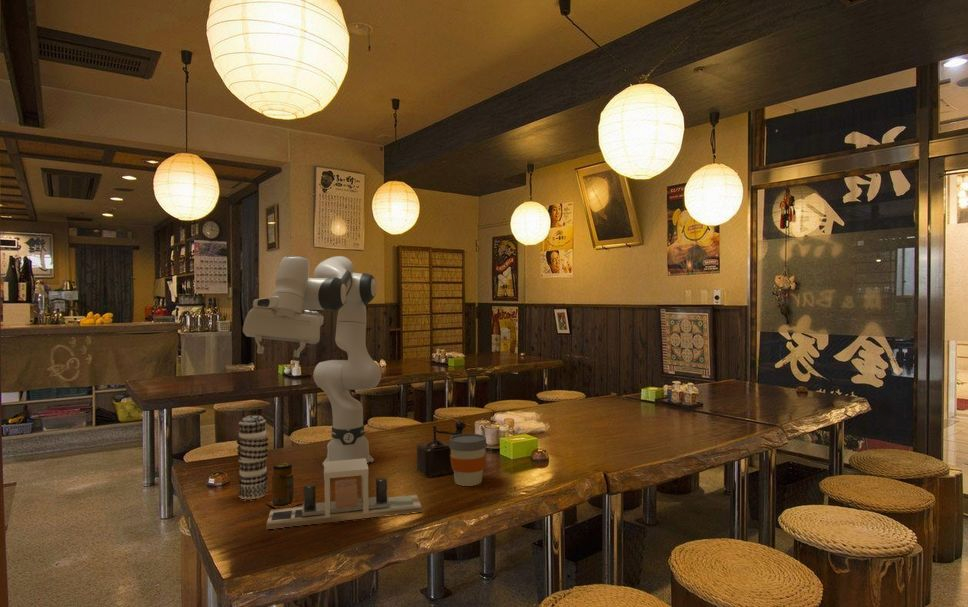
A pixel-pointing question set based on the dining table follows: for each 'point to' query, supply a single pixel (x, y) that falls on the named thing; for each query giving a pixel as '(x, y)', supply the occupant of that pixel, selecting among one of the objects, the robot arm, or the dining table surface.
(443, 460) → the black coffee grinder
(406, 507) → the track
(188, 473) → the dining table surface
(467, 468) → the reusable coffee cup
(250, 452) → the round tower model
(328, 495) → the tunnel
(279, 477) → the condiment
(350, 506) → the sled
